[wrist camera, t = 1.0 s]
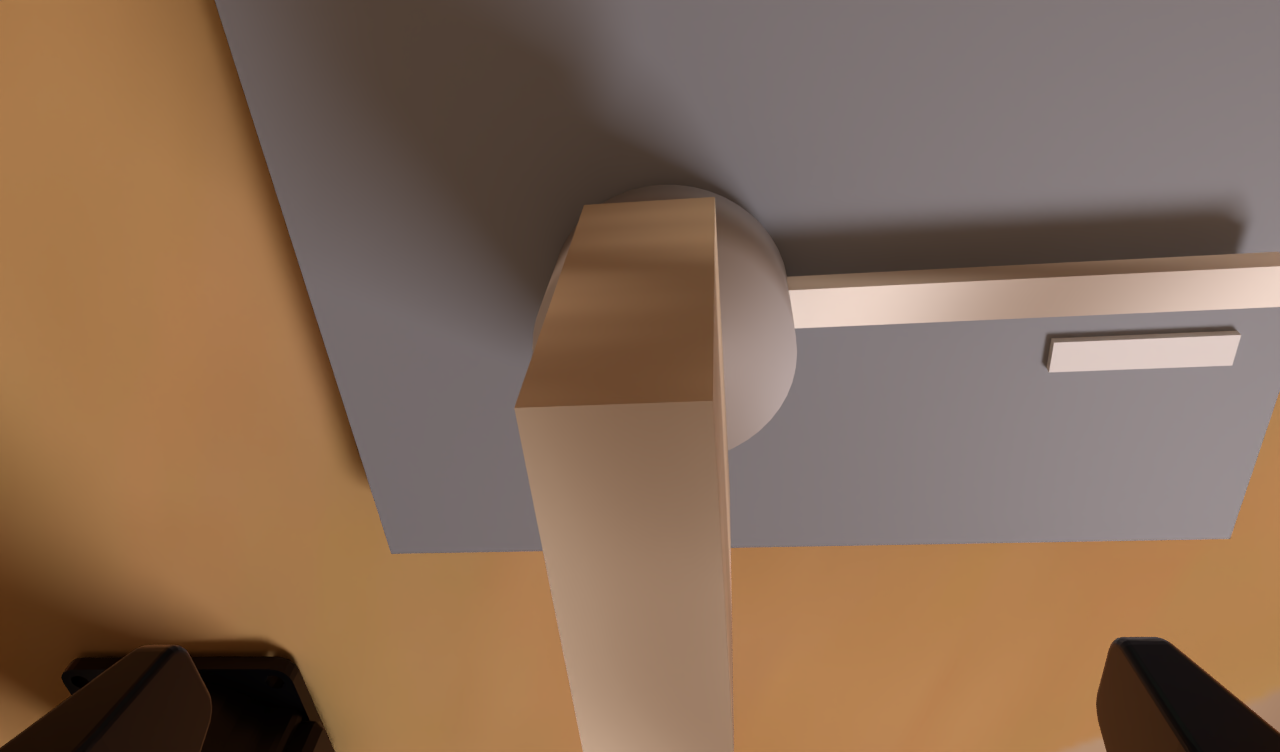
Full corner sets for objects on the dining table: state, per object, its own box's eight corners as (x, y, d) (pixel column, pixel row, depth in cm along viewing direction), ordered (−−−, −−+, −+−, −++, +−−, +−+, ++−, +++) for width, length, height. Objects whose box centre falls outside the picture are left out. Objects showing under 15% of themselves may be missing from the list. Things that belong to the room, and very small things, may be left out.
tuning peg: (573, 421, 17) (494, 752, 11) (531, 162, 14) (397, 412, 8) (1227, 399, 16) (1540, 759, 10) (1314, 109, 13) (1820, 360, 7)
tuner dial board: (411, 507, 21) (389, 558, 19) (52, -716, 11) (-47, -795, 9) (1195, 489, 19) (1233, 543, 17) (1643, -1021, 9) (1818, -1178, 7)
